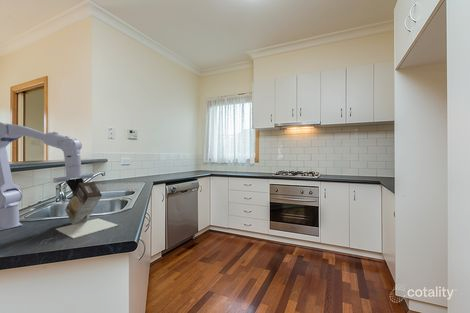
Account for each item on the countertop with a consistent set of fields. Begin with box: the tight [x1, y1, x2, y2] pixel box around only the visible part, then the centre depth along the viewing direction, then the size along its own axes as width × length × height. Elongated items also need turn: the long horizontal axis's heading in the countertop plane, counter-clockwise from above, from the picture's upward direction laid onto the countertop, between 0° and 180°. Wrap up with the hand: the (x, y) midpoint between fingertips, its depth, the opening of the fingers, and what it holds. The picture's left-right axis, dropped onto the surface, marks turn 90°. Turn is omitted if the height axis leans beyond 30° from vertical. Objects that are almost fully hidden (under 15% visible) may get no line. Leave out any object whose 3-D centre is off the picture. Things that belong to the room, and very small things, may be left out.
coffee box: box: [64, 181, 103, 225], centre depth 96 cm, size 9×6×16 cm
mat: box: [55, 218, 119, 239], centre depth 90 cm, size 18×16×1 cm
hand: (76, 196), depth 97 cm, fingers closed, pressing on coffee box
